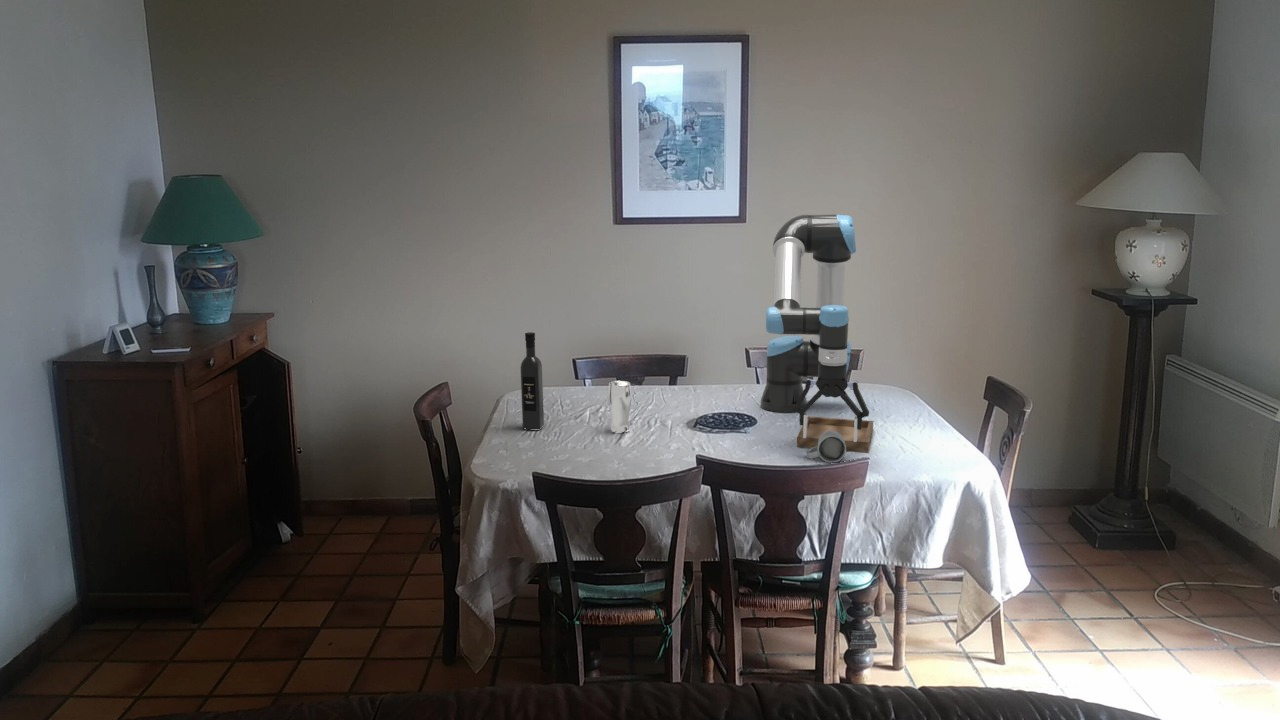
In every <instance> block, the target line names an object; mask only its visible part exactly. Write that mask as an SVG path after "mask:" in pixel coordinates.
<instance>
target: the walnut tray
mask: <svg viewBox="0 0 1280 720" xmlns="http://www.w3.org/2000/svg"><path fill="white" fill-rule="evenodd" d="M800 427H801V428H800V430H799V432H798V434H797V436H796V447H797V448H805V449H807V448H808V449H811V448H813V447H815V446H818V440H819V438H820V436H821V435H822V434H823V433H824V432H827V431H836V432H838V433H839V434H841V435H842V437H843V439H844V441H845V445H846V452H856V453H858V452H859V453H869V451H870V448H871V447H870V446H871V441H872V436H873V432H874V421H873V420H867V419H866V420H865V419H862V428H861V430H859V429H858V431H857V442H854V419H851V418H834V417H823V416H808V420H807V437H806V438H803V426H802V425H801V426H800Z"/></svg>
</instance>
